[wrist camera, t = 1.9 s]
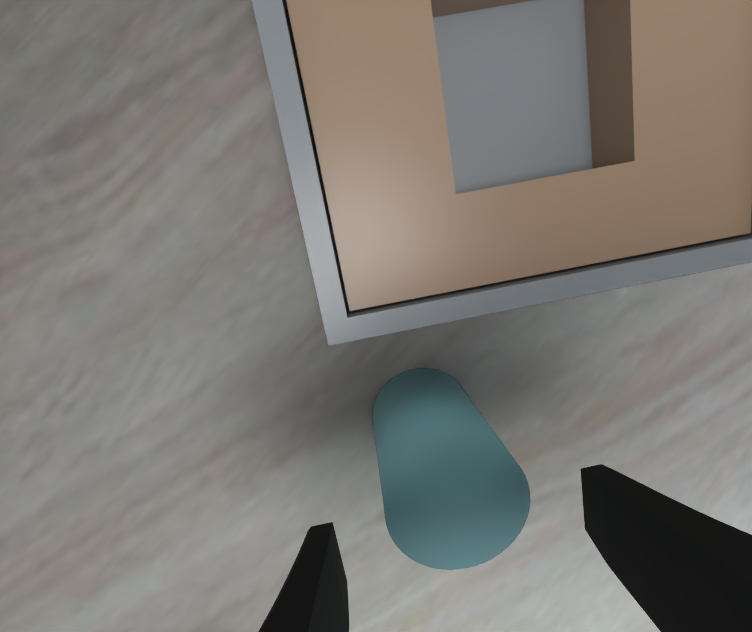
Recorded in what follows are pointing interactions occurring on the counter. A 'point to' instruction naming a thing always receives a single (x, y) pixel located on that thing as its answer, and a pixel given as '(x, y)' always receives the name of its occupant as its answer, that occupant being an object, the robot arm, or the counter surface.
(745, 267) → the counter surface
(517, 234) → the bore box
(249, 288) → the counter surface
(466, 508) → the teal peg
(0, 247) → the counter surface
